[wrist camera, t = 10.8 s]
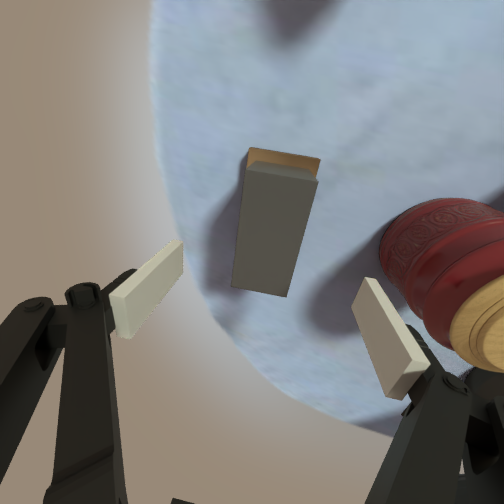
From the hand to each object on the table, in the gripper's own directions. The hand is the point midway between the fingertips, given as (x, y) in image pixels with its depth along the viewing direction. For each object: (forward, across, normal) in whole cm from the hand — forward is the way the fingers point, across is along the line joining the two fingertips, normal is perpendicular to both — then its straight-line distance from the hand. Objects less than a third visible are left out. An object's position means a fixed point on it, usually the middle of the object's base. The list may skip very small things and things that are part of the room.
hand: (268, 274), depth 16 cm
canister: (+16, -20, 0) cm, 26 cm away
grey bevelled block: (+13, 0, 0) cm, 13 cm away
